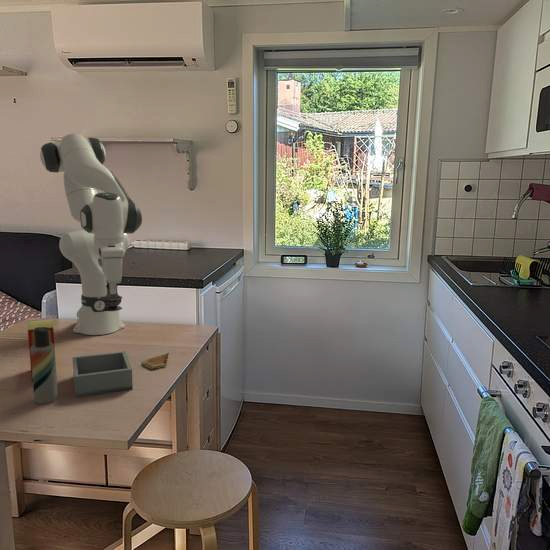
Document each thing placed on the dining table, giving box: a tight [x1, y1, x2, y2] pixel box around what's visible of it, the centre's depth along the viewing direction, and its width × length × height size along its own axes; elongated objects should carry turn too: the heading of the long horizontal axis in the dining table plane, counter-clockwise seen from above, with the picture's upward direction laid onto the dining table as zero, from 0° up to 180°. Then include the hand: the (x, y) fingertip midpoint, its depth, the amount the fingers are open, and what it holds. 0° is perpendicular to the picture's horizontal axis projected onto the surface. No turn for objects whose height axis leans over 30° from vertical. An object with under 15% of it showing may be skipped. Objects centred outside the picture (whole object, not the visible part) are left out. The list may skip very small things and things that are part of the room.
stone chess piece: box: [102, 281, 123, 311], centre depth 149 cm, size 6×6×12 cm
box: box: [72, 350, 134, 398], centre depth 141 cm, size 15×15×6 cm
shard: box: [141, 352, 170, 370], centre depth 157 cm, size 11×8×2 cm
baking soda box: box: [27, 318, 57, 383], centre depth 144 cm, size 10×6×16 cm
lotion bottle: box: [29, 327, 59, 405], centre depth 128 cm, size 6×6×20 cm
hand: (112, 292), depth 149 cm, fingers closed on stone chess piece, 3 cm apart
